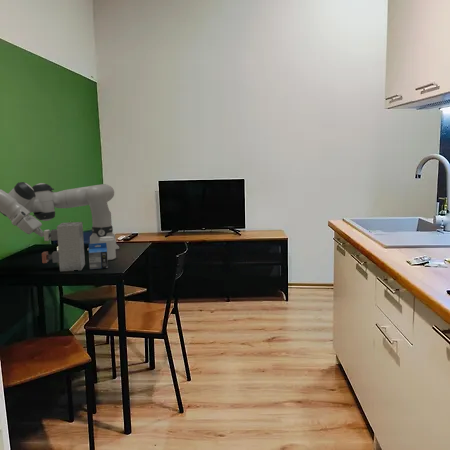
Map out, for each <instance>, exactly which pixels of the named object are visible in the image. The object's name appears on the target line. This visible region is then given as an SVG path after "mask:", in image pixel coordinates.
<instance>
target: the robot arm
mask: <svg viewBox="0 0 450 450" xmlns="http://www.w3.org/2000/svg"><path fill="white" fill-rule="evenodd" d="M54 190H55V189H54V188H53V187H52V186H51V185H49V184H48V183H45V182H39V183H36V184H35V185H33V186H31V185H30V184H28V183H27V182H24V181H20V182H17V183H16V184H15V186H14V187H13V188H12V189H11V190H10V191H9V192H6V190H5V191H4V190H3V189H0V213H1V214H2V215H3V216H4V217H7V219H9V220H10V221H11V224H12V225H13V226H16V227H17V228H18V229H19V230H21V231H23V232H24V233H25V234H27V235H30V234H32V233H34V234H36V235H38V236H39V237H41V238H44V230H43V229H41V227H42V226H43V223H42V222H41V221H43V222H48V221H51V220H53V219H54V218H55V217H56V209H72V208H78V207H85V206H89V209H90V212H91V223H92V226H91V233H92V234H91V235H90V236H89V244H94V243H100V237H104V236H113V237H114V238H115V249H116V250H119V249H120V246H119V245H118V244H117V239H116V235H115V234H114V231H113V230H114V229H113V228H114V227H113V224H112V213H111V210H110V209H109V205H108V202H110V201H111V200H112V199H113V198H114V197H115V190H114V188H113V187H112V186H111V185H109V184H106V183H102V184H95V185H89V186H88V185H87V186H82V187H76V188H68V189H64V190H60V191H54ZM55 208H56V209H55ZM31 213H32V215H31ZM95 247H100V245H97V246H95ZM86 249H87V250H86V251H89V247H88V248H86Z"/></svg>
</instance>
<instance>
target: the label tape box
mask: <svg viewBox="0 0 450 450" xmlns="http://www.w3.org/2000/svg"><path fill="white" fill-rule="evenodd" d="M97 245H101V246H100V247H95V246H97ZM88 248H89V250H88V264H89V270H97V269H108V268H109V262H108V261H109V260H108V258H107V245H106V243H94V244H90V243H88Z"/></svg>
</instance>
